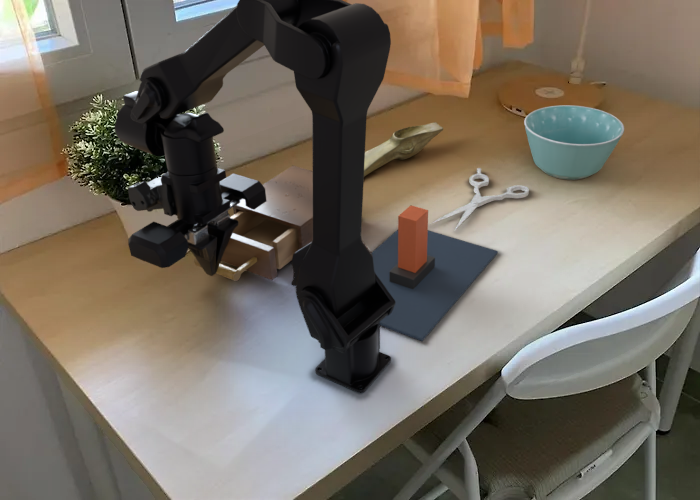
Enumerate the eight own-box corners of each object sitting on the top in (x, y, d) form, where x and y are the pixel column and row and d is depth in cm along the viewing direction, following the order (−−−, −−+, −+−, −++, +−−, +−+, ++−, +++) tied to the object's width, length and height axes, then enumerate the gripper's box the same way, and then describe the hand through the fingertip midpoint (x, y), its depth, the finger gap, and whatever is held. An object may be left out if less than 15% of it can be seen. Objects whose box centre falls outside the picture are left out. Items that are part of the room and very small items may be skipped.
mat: (422, 341, 83) (422, 338, 83) (319, 301, 90) (319, 299, 90) (497, 253, 98) (497, 250, 98) (404, 225, 106) (404, 223, 105)
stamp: (413, 289, 91) (414, 227, 86) (389, 281, 93) (389, 219, 88) (434, 267, 95) (437, 206, 90) (411, 259, 97) (412, 199, 92)
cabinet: (303, 264, 98) (300, 226, 94) (237, 240, 104) (232, 203, 100) (359, 219, 108) (358, 183, 104) (295, 199, 113) (292, 165, 110)
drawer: (248, 299, 90) (243, 270, 88) (186, 274, 95) (180, 246, 93) (329, 234, 103) (327, 207, 100) (270, 215, 108) (267, 189, 105)
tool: (347, 191, 117) (344, 167, 115) (329, 175, 122) (326, 152, 119) (456, 150, 125) (456, 127, 122) (435, 136, 130) (435, 114, 127)
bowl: (612, 196, 111) (622, 148, 106) (512, 182, 116) (517, 136, 111) (617, 154, 123) (626, 110, 118) (526, 144, 128) (531, 101, 123)
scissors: (536, 184, 113) (472, 237, 100) (535, 188, 114) (472, 241, 101) (478, 167, 119) (411, 215, 106) (478, 171, 119) (411, 220, 106)
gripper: (197, 124, 93) (213, 225, 101) (82, 181, 80) (112, 292, 88) (262, 141, 87) (274, 246, 96) (151, 205, 75) (176, 320, 83)
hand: (211, 273), depth 91 cm, fingers closed
